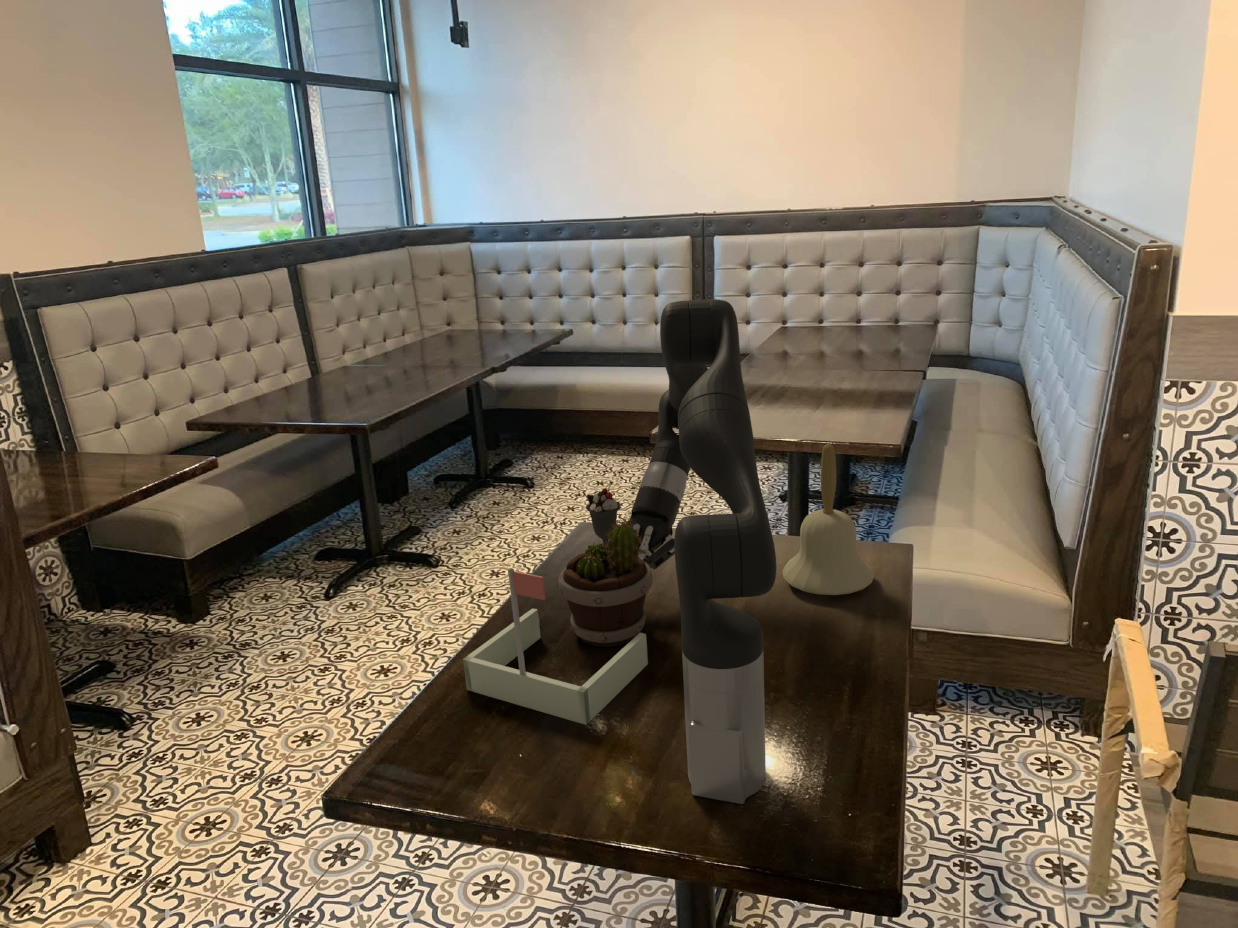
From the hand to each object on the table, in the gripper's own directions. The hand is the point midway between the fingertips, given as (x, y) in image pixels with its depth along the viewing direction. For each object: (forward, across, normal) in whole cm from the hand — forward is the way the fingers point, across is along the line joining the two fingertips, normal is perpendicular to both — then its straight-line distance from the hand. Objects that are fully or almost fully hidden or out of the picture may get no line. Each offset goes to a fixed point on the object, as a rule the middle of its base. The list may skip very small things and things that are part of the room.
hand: (628, 588), depth 147 cm
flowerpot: (+8, 0, -1) cm, 8 cm away
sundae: (-10, -16, +17) cm, 26 cm away
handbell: (-13, +26, +20) cm, 35 cm away
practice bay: (+18, 0, -11) cm, 21 cm away
